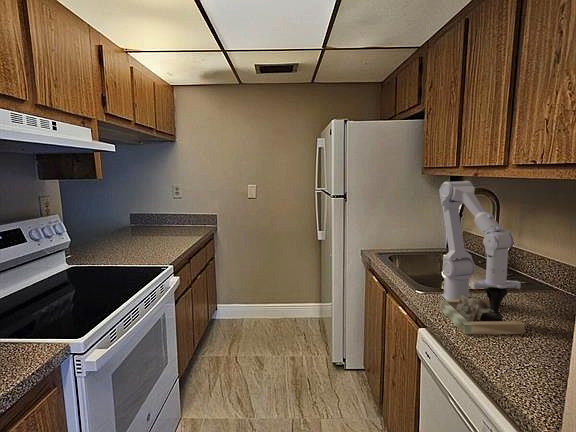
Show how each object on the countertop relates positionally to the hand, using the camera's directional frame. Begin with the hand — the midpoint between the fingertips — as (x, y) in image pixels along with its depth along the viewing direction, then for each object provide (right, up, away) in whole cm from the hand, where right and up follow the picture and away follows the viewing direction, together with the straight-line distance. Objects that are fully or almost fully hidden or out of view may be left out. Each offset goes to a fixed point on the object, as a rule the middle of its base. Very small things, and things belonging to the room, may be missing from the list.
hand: (494, 309), depth 117 cm
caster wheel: (-4, -4, 0) cm, 6 cm away
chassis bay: (-5, -4, +1) cm, 6 cm away
